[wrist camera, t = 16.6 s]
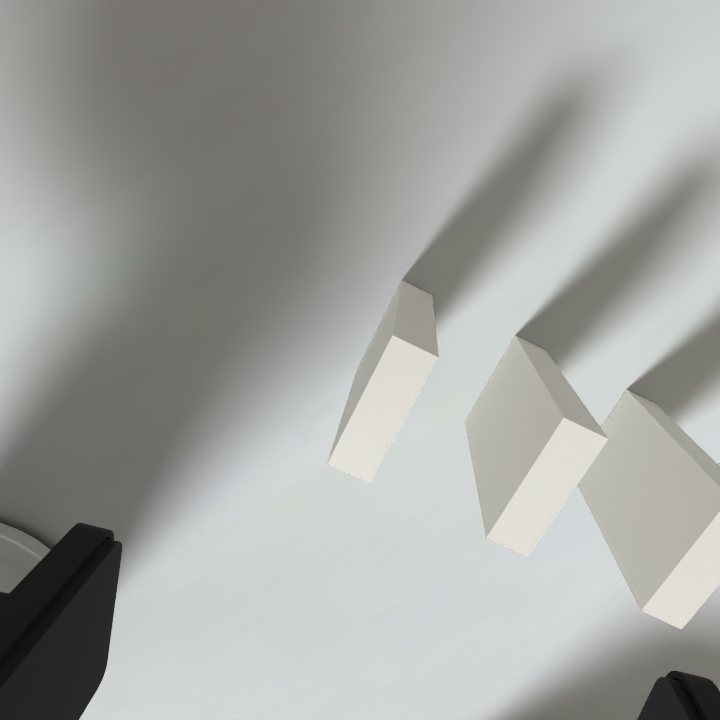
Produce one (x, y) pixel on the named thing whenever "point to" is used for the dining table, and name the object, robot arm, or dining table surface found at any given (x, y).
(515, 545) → the domino
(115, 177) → the dining table surface
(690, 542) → the domino
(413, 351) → the domino
